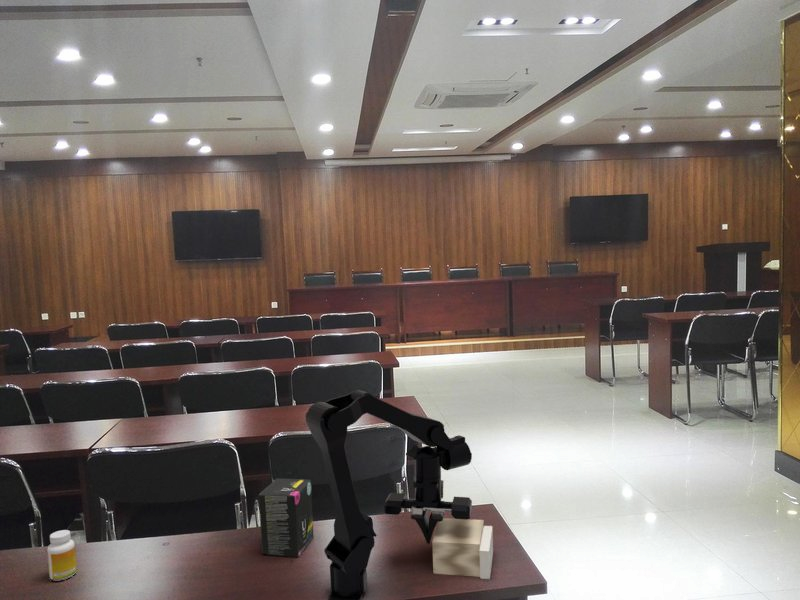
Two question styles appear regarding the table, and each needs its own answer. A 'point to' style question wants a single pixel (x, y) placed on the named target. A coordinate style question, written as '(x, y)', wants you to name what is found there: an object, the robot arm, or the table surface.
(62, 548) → the supplement bottle
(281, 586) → the table surface
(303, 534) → the tampon box
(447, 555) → the block
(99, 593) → the table surface
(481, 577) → the bar
